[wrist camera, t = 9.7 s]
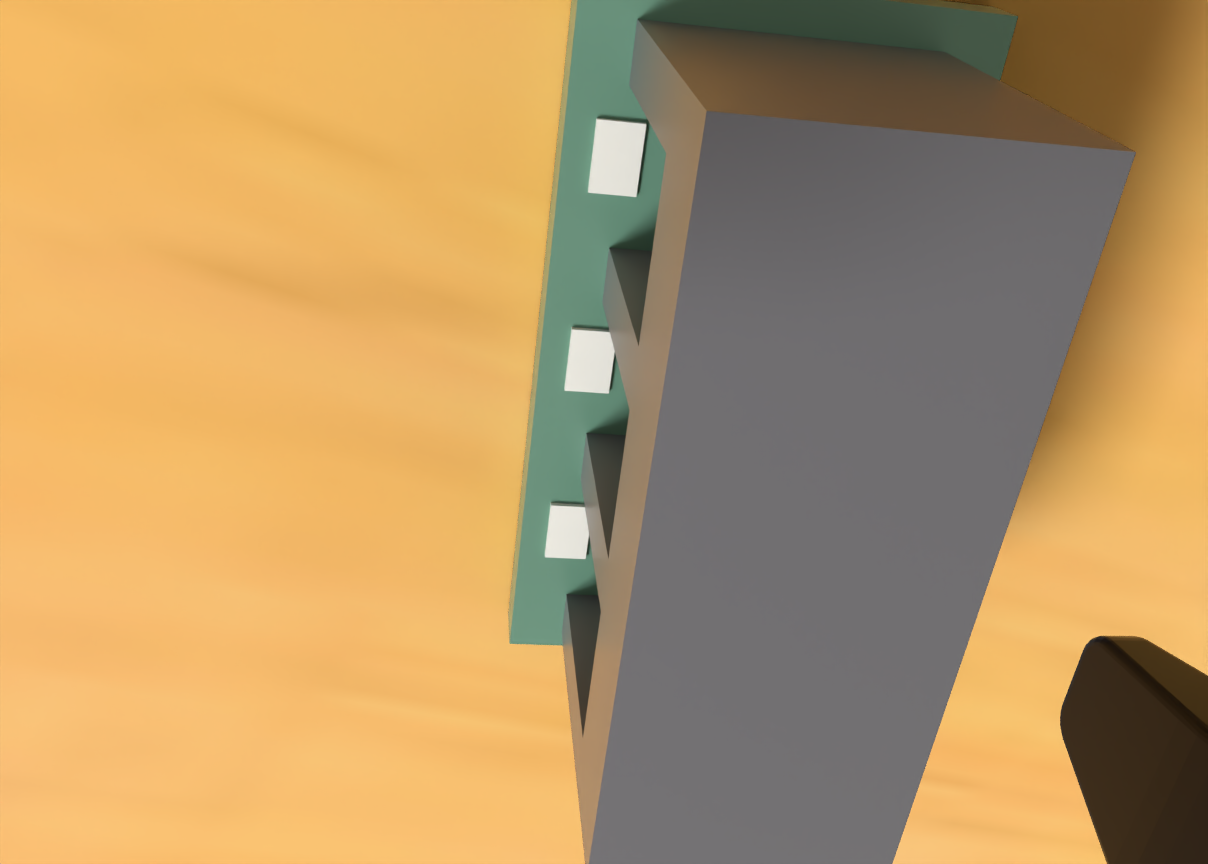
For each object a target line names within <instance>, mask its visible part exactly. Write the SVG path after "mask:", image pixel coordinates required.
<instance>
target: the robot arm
mask: <svg viewBox="0 0 1208 864" xmlns="http://www.w3.org/2000/svg"><path fill="white" fill-rule="evenodd" d="M1060 726H1061V732H1062V736H1063V740H1064V743H1065V746H1066V748H1067V751H1068V754H1069V757H1070V760H1071V763H1072V765H1073V768H1074V771H1075V774H1076V777H1077V780H1078V782H1079V785H1080V788H1081V791H1082V794H1083V797H1084V799H1085V802H1086V805H1087V808H1088V811H1089V814H1090V816H1091V819H1092V822H1093V825H1094V828H1095V831H1096V834H1097V836H1098V839H1099V842H1100V845H1101V848H1102V851H1103V853H1104V856H1105V859H1106V862H1107V864H1208V676H1207V675H1206V674H1204V673H1202V672H1201V671H1199V670H1197V669H1196V668H1194V667H1192V666H1190V665H1189V664H1187V663H1185V662H1184V661H1182V660H1180V659H1179V658H1177V657H1175V656H1173V655H1172V654H1170V653H1168V652H1167V651H1165V650H1163V649H1162V648H1160V647H1158V646H1156V645H1155V644H1153V643H1151V642H1150V641H1148V640H1146V639H1144V638H1140V637H1136V636H1098V637H1096V638H1093V639H1092V640H1090V641H1089V643H1088V644H1087V645H1086V646H1085V648H1084V650H1083V653H1082V655H1081V658H1080V660H1079V663H1078V666H1077V668H1076V671H1075V673H1074V676H1073V679H1072V681H1071V684H1070V686H1069V689H1068V692H1067V694H1066V697H1065V700H1064V702H1063V705H1062V709H1061V716H1060Z"/></svg>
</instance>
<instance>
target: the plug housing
mask: <svg viewBox="0 0 1208 864" xmlns="http://www.w3.org/2000/svg"><path fill="white" fill-rule="evenodd" d="M629 86H630V88H631V90H632V92H633V93H634V95H635V97H636V99H637V101H638V103H639V104H640V106H641V108H642V110H643V112H644V114H645V115H646V117H647V119H648V121H649V123H650V125H651V126H652V128H653V130H654V132H655V134H656V136H657V137H658V139H659V141H660V143H661V145H662V146H663V148H664V150H665V152H666V158H665V165H664V172H663V179H662V186H661V193H660V200H659V207H658V214H657V221H656V228H655V235H654V242H653V249H652V251H645V250H632V249H619V248H609V252H608V260H607V269H606V277H605V285H604V293H603V301H602V303H603V307H604V311H605V315H606V319H607V323H608V327H609V331H610V335H611V339H612V343H613V347H614V351H615V354H616V358H617V362H618V366H619V370H620V374H621V378H622V382H623V386H624V390H625V394H626V398H627V402H628V406H629V410H630V411H629V418H628V425H627V432H626V435H613V434H594V433H586V439H585V448H584V456H583V464H582V472H581V485H582V492H583V498H584V505H585V511H586V518H587V524H588V530H589V537H590V543H591V550H592V556H593V563H594V569H595V576H596V582H597V589H598V595H574V594H566V602H565V610H564V618H563V627H562V642H563V652H564V661H565V671H566V681H567V691H568V700H569V710H570V720H571V730H572V739H573V749H574V759H575V769H576V778H577V788H578V798H579V808H580V817H581V827H582V837H583V847H584V857H585V864H892V863H893V860H894V857H895V854H896V851H897V848H898V845H899V842H900V840H901V837H902V834H903V831H904V828H905V825H906V822H907V819H908V816H909V813H910V810H911V807H912V804H913V802H914V799H915V796H916V793H917V790H918V787H919V784H920V781H921V778H922V775H923V772H924V769H925V767H926V764H927V761H928V758H929V755H930V752H931V749H932V746H933V743H934V740H935V737H936V734H937V732H938V729H939V726H940V723H941V720H942V717H943V714H944V711H945V708H946V705H947V702H948V699H949V697H950V694H951V691H952V688H953V685H954V682H955V679H956V676H957V673H958V670H959V667H960V664H961V662H962V659H963V656H964V653H965V650H966V647H967V644H968V641H969V638H970V635H971V632H972V629H973V626H974V624H975V621H976V618H977V615H978V612H979V609H980V606H981V603H982V600H983V597H984V594H985V591H986V589H987V586H988V583H989V580H990V577H991V574H992V571H993V568H994V565H995V562H996V559H997V556H998V554H999V551H1000V548H1001V545H1002V542H1003V539H1004V536H1005V533H1006V530H1007V527H1008V524H1009V521H1010V519H1011V516H1012V513H1013V510H1014V507H1015V504H1016V501H1017V498H1018V495H1019V492H1020V489H1021V486H1022V484H1023V481H1024V478H1025V475H1026V472H1027V469H1028V466H1029V463H1030V460H1031V457H1032V454H1033V451H1034V448H1035V446H1036V443H1037V440H1038V437H1039V434H1040V431H1041V428H1042V425H1043V422H1044V419H1045V416H1046V413H1047V411H1048V408H1049V405H1050V402H1051V399H1052V396H1053V393H1054V390H1055V387H1056V384H1057V381H1058V378H1059V376H1060V373H1061V370H1062V367H1063V364H1064V361H1065V358H1066V355H1067V352H1068V349H1069V346H1070V343H1071V341H1072V338H1073V335H1074V332H1075V329H1076V326H1077V323H1078V320H1079V317H1080V314H1081V311H1082V308H1083V306H1084V303H1085V300H1086V297H1087V294H1088V291H1089V288H1090V285H1091V282H1092V279H1093V276H1094V273H1095V270H1096V268H1097V265H1098V262H1099V259H1100V256H1101V253H1102V250H1103V247H1104V244H1105V241H1106V238H1107V235H1108V233H1109V230H1110V227H1111V224H1112V221H1113V218H1114V215H1115V212H1116V209H1117V206H1118V203H1119V200H1120V198H1121V195H1122V192H1123V189H1124V186H1125V183H1126V180H1127V177H1128V174H1129V171H1130V168H1131V165H1132V163H1133V160H1134V157H1135V154H1136V152H1135V151H1133V150H1131V149H1129V148H1127V147H1125V146H1123V145H1122V144H1120V143H1118V142H1116V141H1114V140H1112V139H1110V138H1108V137H1106V136H1104V135H1102V134H1101V133H1099V132H1097V131H1095V130H1093V129H1091V128H1089V127H1087V126H1085V125H1083V124H1081V123H1080V122H1078V121H1076V120H1074V119H1072V118H1070V117H1068V116H1066V115H1064V114H1062V113H1060V112H1059V111H1057V110H1055V109H1053V108H1051V107H1049V106H1047V105H1045V104H1043V103H1041V102H1039V101H1038V100H1036V99H1034V98H1032V97H1030V96H1028V95H1026V94H1024V93H1022V92H1020V91H1018V90H1017V89H1015V88H1013V87H1011V86H1009V85H1007V84H1005V83H1003V82H1001V81H999V80H997V79H996V78H994V77H992V76H990V75H988V74H986V73H984V72H982V71H980V70H978V69H976V68H975V67H973V66H971V65H969V64H967V63H965V62H963V61H961V60H959V59H957V58H955V57H954V56H952V55H950V54H948V53H946V52H942V51H933V50H923V49H914V48H905V47H895V46H886V45H876V44H867V43H858V42H848V41H839V40H830V39H820V38H811V37H802V36H792V35H783V34H774V33H764V32H755V31H745V30H736V29H727V28H717V27H708V26H699V25H689V24H680V23H671V22H661V21H652V20H643V19H637V24H636V33H635V41H634V49H633V57H632V65H631V73H630V81H629Z"/></svg>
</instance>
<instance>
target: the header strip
mask: <svg viewBox="0 0 1208 864" xmlns="http://www.w3.org/2000/svg"><path fill="white" fill-rule="evenodd" d="M637 19H643V20H652V21H661V22H671V23H680V24H689V25H699V26H708V27H717V28H727V29H736V30H745V31H755V32H764V33H774V34H783V35H792V36H802V37H811V38H820V39H830V40H839V41H848V42H858V43H867V44H876V45H886V46H895V47H905V48H914V49H923V50H933V51H942V52H946V53H948V54H950V55H952V56H954V57H955V58H957V59H959V60H961V61H963V62H965V63H967V64H969V65H971V66H973V67H975V68H976V69H978V70H980V71H982V72H984V73H986V74H988V75H990V76H992V77H994V78H996V79H997V80H999V81H1000V79H1001V75H1002V72H1003V68H1004V65H1005V61H1006V58H1007V54H1008V51H1009V47H1010V44H1011V40H1012V37H1013V33H1014V29H1015V26H1016V22H1017V19H1018V16H1016V15H1013V14H1011V13H1008V12H1006V11H1003V10H1000V9H998V8H995V7H992V6H984V5H976V4H968V3H959V2H951V1H943V0H572V1H571V11H570V21H569V30H568V40H567V50H566V59H565V69H564V79H563V89H562V98H561V108H560V118H559V127H558V137H557V147H556V156H555V166H554V176H553V186H552V195H551V205H550V215H549V224H548V234H547V244H546V253H545V263H544V273H543V282H542V292H541V302H540V312H539V321H538V331H537V341H536V350H535V360H534V370H533V379H532V389H531V399H530V409H529V418H528V428H527V438H526V447H525V457H524V467H523V476H522V486H521V496H520V505H519V515H518V525H517V535H516V544H515V554H514V564H513V573H512V583H511V593H510V602H509V612H508V616H509V641H510V644H536V645H563V642H562V627H563V618H564V610H565V602H566V594H574V595H598V589H597V582H596V576H595V569H594V563H593V556H592V550H591V543H590V537H589V530H588V524H587V518H586V511H585V505H584V498H583V492H582V485H581V472H582V464H583V456H584V448H585V439H586V433H594V434H613V435H626V432H627V425H628V418H629V411H630V410H629V406H628V402H627V398H626V394H625V390H624V386H623V382H622V378H621V374H620V370H619V366H618V362H617V358H616V354H615V351H614V347H613V343H612V339H611V335H610V331H609V327H608V323H607V319H606V315H605V311H604V307H603V303H602V301H603V293H604V285H605V277H606V269H607V260H608V252H609V248H619V249H632V250H645V251H652V249H653V242H654V235H655V228H656V221H657V214H658V207H659V200H660V193H661V186H662V179H663V172H664V165H665V158H666V152H665V150H664V148H663V146H662V145H661V143H660V141H659V139H658V137H657V136H656V134H655V132H654V130H653V128H652V126H651V125H650V123H649V121H648V119H647V117H646V115H645V114H644V112H643V110H642V108H641V106H640V104H639V103H638V101H637V99H636V97H635V95H634V93H633V92H632V90H631V88H630V86H629V81H630V73H631V65H632V57H633V49H634V41H635V33H636V24H637Z"/></svg>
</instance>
